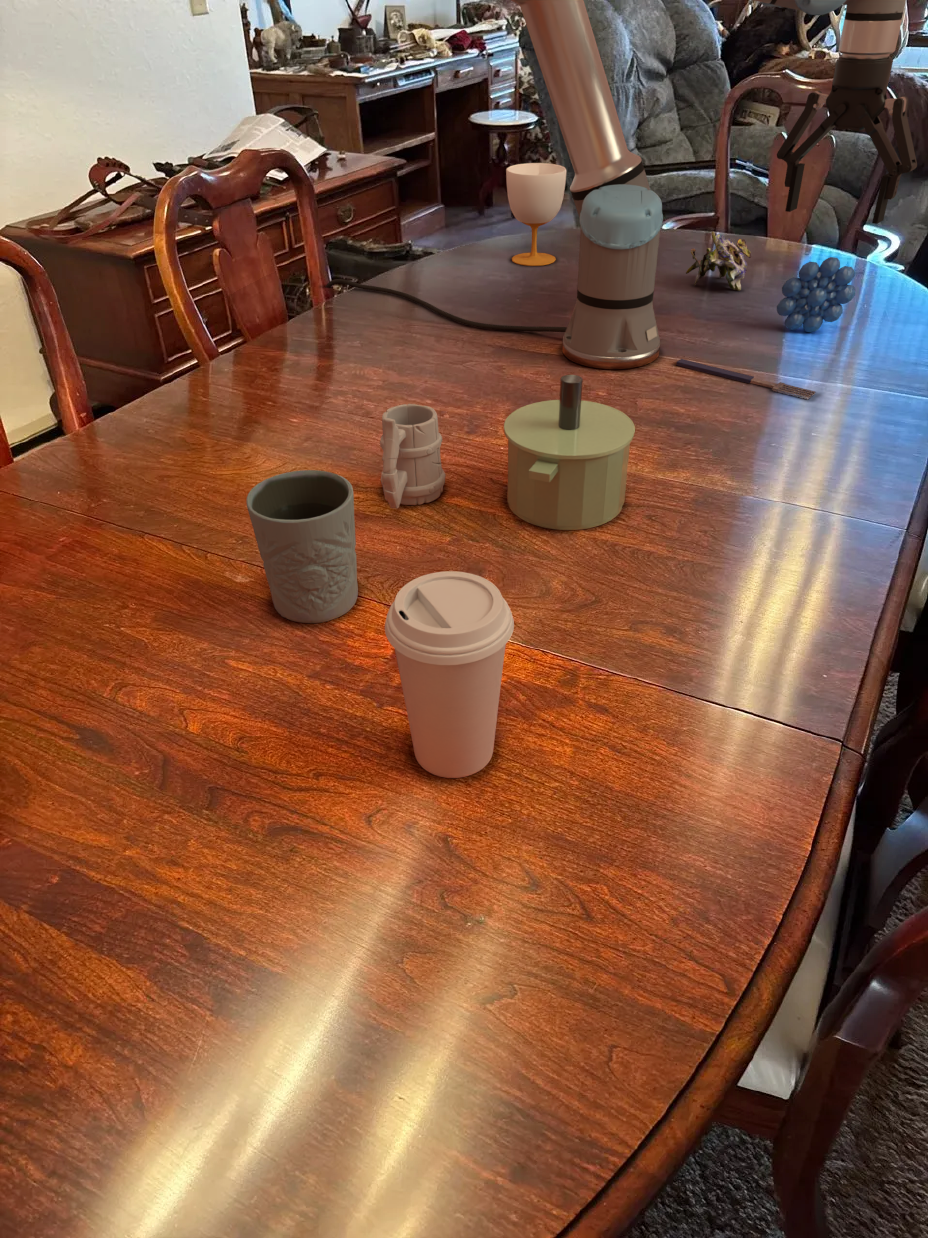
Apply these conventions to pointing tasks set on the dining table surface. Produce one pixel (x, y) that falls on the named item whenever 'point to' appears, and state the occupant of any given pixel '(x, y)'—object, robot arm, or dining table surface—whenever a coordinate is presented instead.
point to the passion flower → (724, 260)
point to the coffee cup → (450, 667)
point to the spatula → (747, 379)
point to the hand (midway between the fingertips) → (833, 215)
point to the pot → (566, 488)
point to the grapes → (816, 294)
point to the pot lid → (569, 426)
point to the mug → (411, 455)
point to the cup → (535, 202)
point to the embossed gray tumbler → (307, 543)
